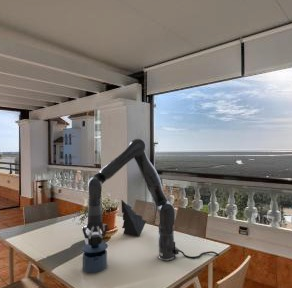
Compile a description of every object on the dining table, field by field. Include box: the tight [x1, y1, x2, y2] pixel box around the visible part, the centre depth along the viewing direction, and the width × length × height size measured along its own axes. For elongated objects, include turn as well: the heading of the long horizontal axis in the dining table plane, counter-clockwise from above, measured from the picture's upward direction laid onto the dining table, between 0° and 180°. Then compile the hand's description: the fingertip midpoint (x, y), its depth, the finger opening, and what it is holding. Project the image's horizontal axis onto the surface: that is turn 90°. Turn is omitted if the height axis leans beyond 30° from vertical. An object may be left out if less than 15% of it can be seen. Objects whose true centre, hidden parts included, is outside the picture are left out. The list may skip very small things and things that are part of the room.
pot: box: [82, 249, 108, 274], centre depth 135 cm, size 13×18×8 cm
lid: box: [81, 234, 109, 253], centre depth 135 cm, size 14×14×7 cm
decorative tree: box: [120, 199, 147, 238], centre depth 184 cm, size 15×15×35 cm
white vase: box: [83, 228, 103, 245], centre depth 151 cm, size 11×11×15 cm
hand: (94, 244), depth 135 cm, fingers closed on lid, 4 cm apart
